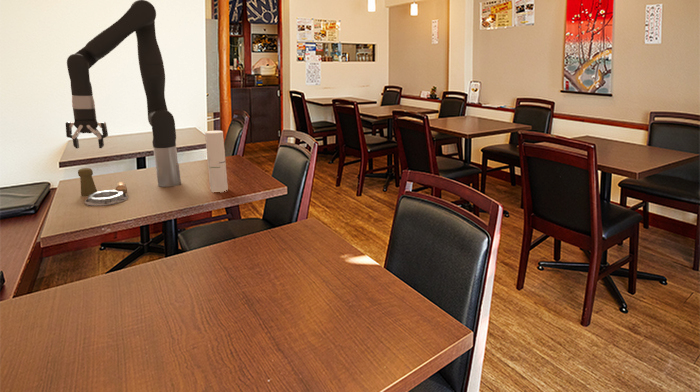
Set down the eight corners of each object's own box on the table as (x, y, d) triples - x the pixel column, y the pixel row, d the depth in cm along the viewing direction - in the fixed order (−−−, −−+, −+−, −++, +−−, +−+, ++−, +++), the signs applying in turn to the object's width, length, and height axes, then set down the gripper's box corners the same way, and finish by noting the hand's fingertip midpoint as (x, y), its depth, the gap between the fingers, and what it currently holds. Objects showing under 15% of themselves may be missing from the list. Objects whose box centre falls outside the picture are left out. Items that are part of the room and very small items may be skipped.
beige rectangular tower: (231, 190, 186) (226, 131, 178) (216, 193, 181) (210, 133, 173) (222, 186, 190) (217, 129, 183) (207, 190, 185) (201, 131, 178)
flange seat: (127, 192, 182) (126, 187, 181) (128, 202, 169) (127, 197, 168) (86, 197, 175) (84, 191, 174) (83, 208, 162) (82, 202, 162)
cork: (90, 197, 176) (85, 170, 173) (77, 196, 177) (72, 169, 174) (101, 192, 182) (96, 167, 178) (88, 191, 183) (83, 166, 180)
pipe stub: (116, 190, 185) (114, 181, 183) (127, 189, 186) (125, 179, 185) (116, 195, 178) (114, 185, 176) (127, 194, 180) (126, 184, 178)
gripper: (106, 106, 176) (111, 146, 180) (67, 106, 172) (72, 146, 177) (101, 108, 169) (106, 149, 173) (59, 107, 165) (65, 149, 170)
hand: (89, 148), depth 175 cm, fingers open, 8 cm apart
